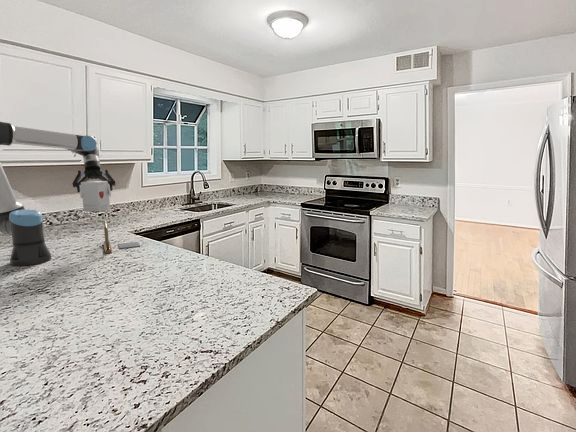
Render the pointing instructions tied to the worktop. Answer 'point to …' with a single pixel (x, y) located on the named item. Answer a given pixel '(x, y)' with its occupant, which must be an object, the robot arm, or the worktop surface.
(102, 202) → the supplement box
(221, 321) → the worktop surface
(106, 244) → the cabinet door handle
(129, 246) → the mat
